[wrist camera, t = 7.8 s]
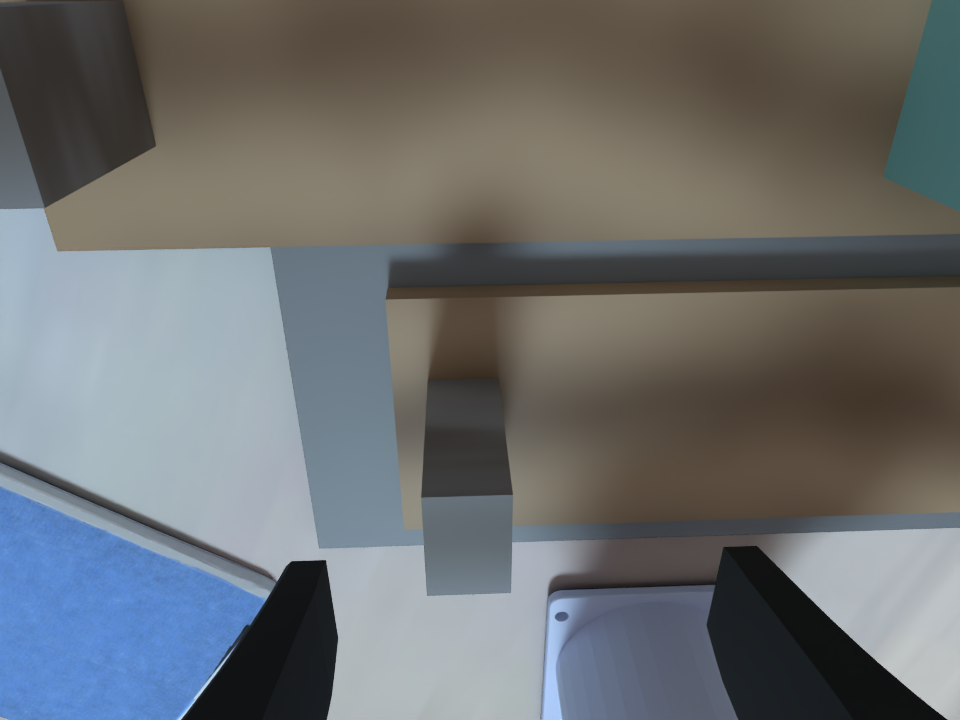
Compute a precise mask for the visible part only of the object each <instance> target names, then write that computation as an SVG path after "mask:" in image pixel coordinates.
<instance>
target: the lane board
mask: <svg viewBox="0 0 960 720" xmlns="http://www.w3.org/2000/svg"><path fill="white" fill-rule="evenodd" d="M271 253H272V259H273V265H274V271H275V278H276V284H277V290H278V296H279V302H280V309H281V315H282V321H283V327H284V333H285V340H286V346H287V352H288V358H289V364H290V371H291V377H292V383H293V389H294V395H295V401H296V408H297V414H298V420H299V426H300V432H301V439H302V445H303V451H304V457H305V463H306V470H307V476H308V482H309V488H310V494H311V501H312V507H313V513H314V519H315V525H316V532H317V538H318V544H319V548H350V547H381V546H411V545H424V537H423V529H412V530H404V527H403V514H402V502H401V489H400V477H399V464H398V452H397V439H396V427H395V414H394V402H393V389H392V377H391V364H390V352H389V339H388V326H387V314H386V301H385V299H386V294H387V289H388V288H399V287H447V286H494V285H542V284H589V283H637V282H684V281H731V280H779V279H826V278H874V277H921V276H960V234H929V235H877V236H825V237H772V238H720V239H668V240H616V241H564V242H511V243H459V244H407V245H355V246H303V247H271ZM933 528H960V512H945V513H913V514H882V515H851V516H819V517H788V518H757V519H725V520H694V521H663V522H631V523H600V524H568V525H537V526H512V542H534V541H565V540H595V539H626V538H657V537H687V536H718V535H749V534H779V533H810V532H841V531H871V530H902V529H933Z"/></svg>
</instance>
